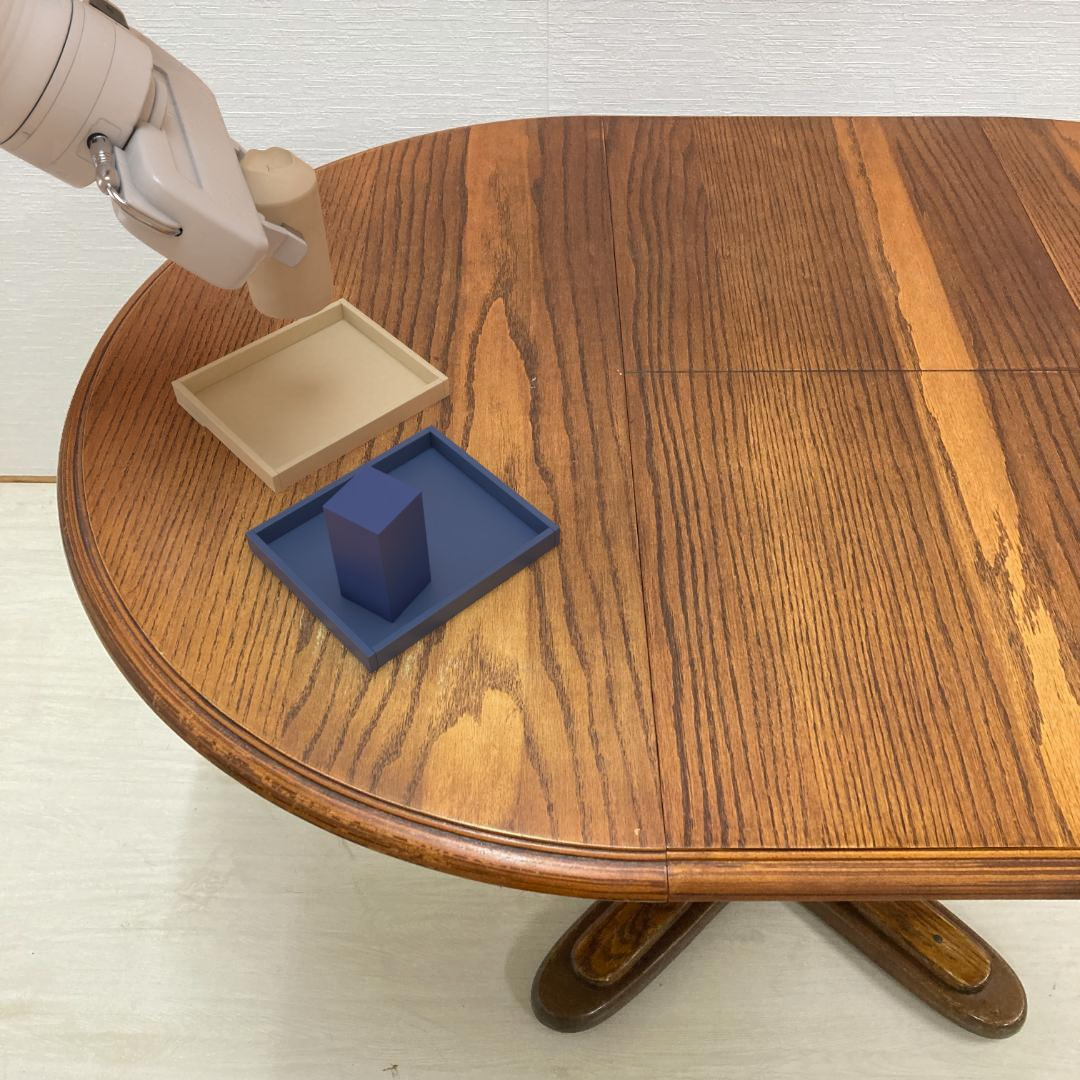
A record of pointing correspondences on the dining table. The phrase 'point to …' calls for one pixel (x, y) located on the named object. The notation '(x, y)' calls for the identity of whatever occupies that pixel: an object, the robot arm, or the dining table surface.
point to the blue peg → (379, 542)
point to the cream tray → (310, 393)
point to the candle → (294, 199)
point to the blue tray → (452, 537)
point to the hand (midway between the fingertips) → (288, 223)
